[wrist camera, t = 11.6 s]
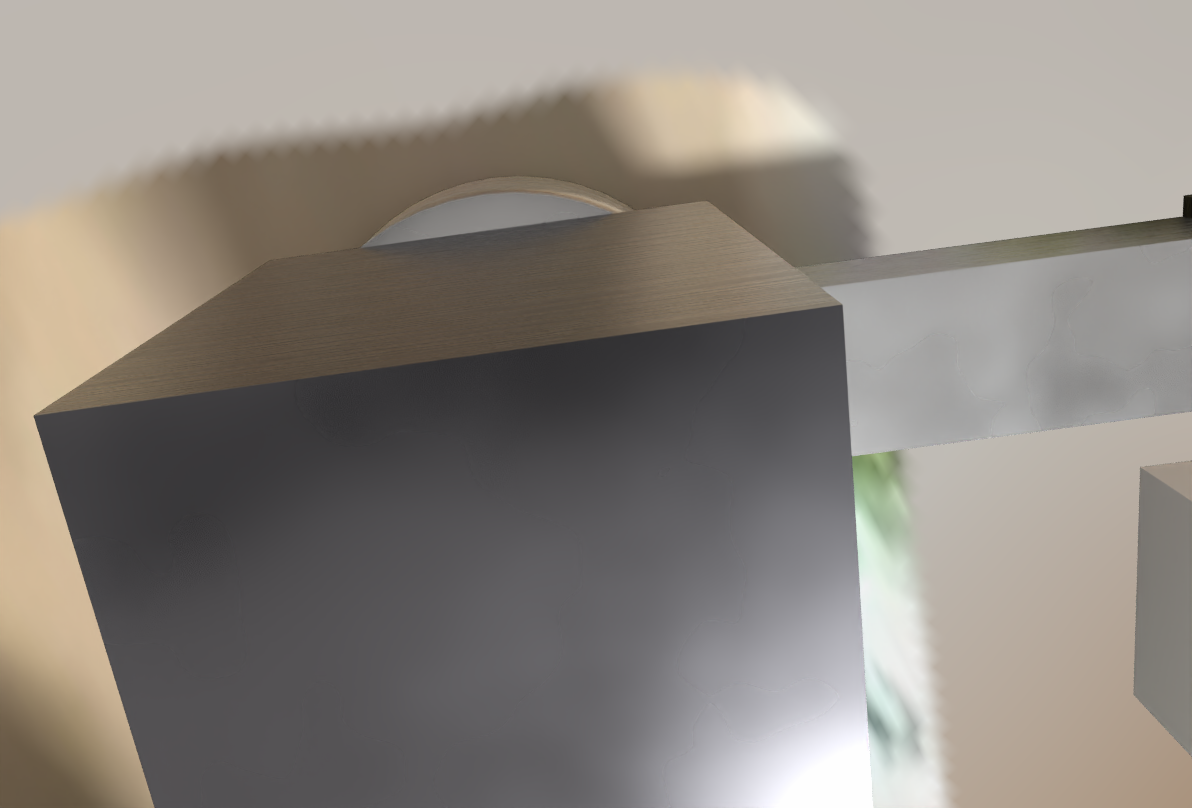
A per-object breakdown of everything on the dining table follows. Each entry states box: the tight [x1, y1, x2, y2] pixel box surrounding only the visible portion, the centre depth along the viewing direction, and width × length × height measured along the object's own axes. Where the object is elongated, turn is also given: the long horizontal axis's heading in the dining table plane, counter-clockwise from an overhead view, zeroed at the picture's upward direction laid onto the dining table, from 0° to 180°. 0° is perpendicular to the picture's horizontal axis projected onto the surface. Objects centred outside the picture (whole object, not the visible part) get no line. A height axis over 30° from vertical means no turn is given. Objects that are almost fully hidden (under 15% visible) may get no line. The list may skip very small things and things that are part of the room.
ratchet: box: [361, 176, 1192, 456], centre depth 17 cm, size 28×8×7 cm, turn 97°
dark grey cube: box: [34, 200, 873, 808], centre depth 14 cm, size 7×7×8 cm
